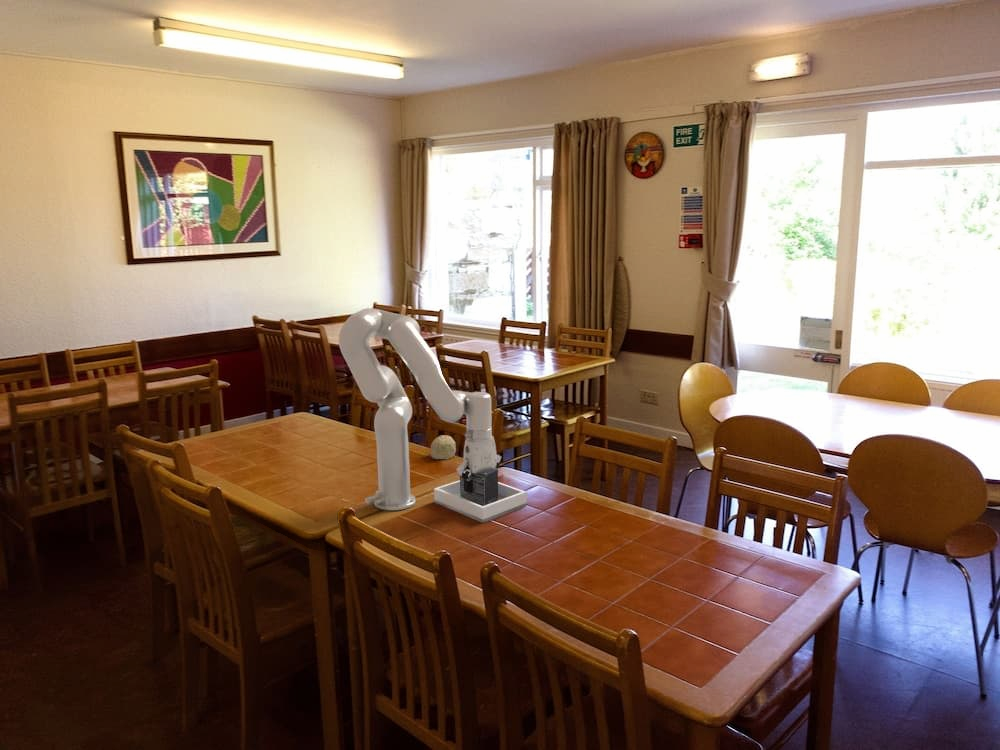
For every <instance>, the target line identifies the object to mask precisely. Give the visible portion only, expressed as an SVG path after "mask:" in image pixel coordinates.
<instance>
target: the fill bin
mask: <svg viewBox="0 0 1000 750" xmlns="http://www.w3.org/2000/svg"><path fill="white" fill-rule="evenodd" d="M433 500H434V503H435V504H437V505H439V506H442V507H444V508H447V509H449V510H451V511H454V512H456V513H458V514H462V515H463V516H465V517H467V518H470V519H472V520H475V521H477V522H480V523H481V524H483V523H487V522H489V521H492V520H494V519H497V518H499V517H502V516H505V515H506V514H510V513H512V512H515V511H518V510H520V509H522V508H524V507H527V491H525V490H522V489H520V488H517V487H514V486H511V485H507V484H505V483H502V482H499V481H498V501H496V502H493V503H490V504H488V505H485V506H481V505H479V504H476V503H474V502H471V501H469V500H466V499H464V498H461V497H460V479H459V480H455V481H453V482H450V483H447V484H444V485H443V484H442V485H440V486H438V487H435V488H433Z"/></svg>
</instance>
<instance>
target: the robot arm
mask: <svg viewBox="0 0 1000 750" xmlns="http://www.w3.org/2000/svg"><path fill="white" fill-rule="evenodd" d="M420 333H421V327H420V325H419V323H418V321H417V320H416V319H415V318H413V317H411V316H409V315H405V314H399V313H394V312H392V311H391V312H390V311H386V310H383V309H378V308H372V307H371V308H367V307H366V308H364V309H361V310H359V311H357V312H354V313H353V314H351V315H350V316H349V317H348V318H347V319H346V321H344V323H343V324H342V327H341V328H340V330H339V334H338V346H339V349H340V352H341V355H342V357H343V358H344V360H345V362H346V364H347V366H348V368H349V370H350V372H351V374H352V376H353V378H354V380H355V382H356V384H357V386H358V388H359V390H360V392H361V395H362V396H363V397H364V398H365V400H367V401H368V402H370V403H377V406H378V407H379V408H378V410H377V411H376V413H375V415H374V419H373V420H374V421H373V423H374V424H373V427H374V433H375V440H376V441H375V442H376V443H375V444H376V456H377V457H376V458H377V477H378V479H377V481H378V482H377V483H378V489H377V490H375V494H374V495H373V496H368V497H366V498H365V499H364V502H365V504H366V505H370V504H374V507H376V508H377V509H380V510H384V511H400V510H401V511H402V510H406V509H408V508H411V507H413V506H414V505H415V504H416V501H417V500H416V497H415V495H413V494H412V493H411V479H410V477H411V475H410V473H411V471H410V470H411V469H410V449H409V447H410V445H409V435H408V434H409V433H408V424H409V422H410V420H411V418H412V417H413V407H412V403H411V401H410V399H409V397H408V395H407V393H406V391H405V389H404V388H403V385H402V383H401V381H400V379H399V377H398V376H397V374H396V373H395V371H393V369H392V368H390V367H389V366H386V365H381V363H380V362H379V360H378V358H377V355H376V354H375V352H374V350H373V349H372V348H371V346H370V344H369V341H370V339H372V338H373V337H375V338H378V339H379V338H380V339H384V340H387V341H388V342H389V343H390V345H391V346H392V347H393V349H394V350H395V352H396V353H397V354H398V355H399V357H400V358H401V360H402V361H403V362H404V364H405V365H406V367H407V368H408V369H409V370H410V372H411V374H412V375H413V377H414V379H415V381H416V383H417V385H418V387H419V388H420V390H421V392H422V394H423V396H424V397H425V399H426V400H427V402H428V403H429V405H430V406H431V408H432V409H433V411H434V412H435V413H436V414H437V415H438V417H439V418H440V419H442V420H443V421H444V422H446V423H447V422H448V423H455V422H458V421H459V420H460V419H461V418H462V417H463V415H465V417H466V432H465V433H464V437H465V441H464V446H463V447H464V448H463V458H462V462H461V463H460V464H459V466H458V467H456V472H457V473H458V475H459V477H460V476H461V477H462V479H464V491H465V492H468V493H472V492H473V490H472V480H471V478H472V476H473V474H478V473H480V472H482V471H485V470H489V469H492V468H495V469H498V467H499V466H500V462H501V459H502V456H501V455H499V454H497V446H496V442H495V438H494V436H493V435H492V433H493V432H492V429H493V427H492V424H493V423H492V419H493V418H492V405H493V404H492V396H491V394H490V393H488V392H485V391H473V392H469V391H463V390H454V389H453V390H452V389H451V388H450V387H449V385H448V383H447V382H446V380H445V378H444V376H443V374H442V369H441V365H440V362H439V358H438V357H437V356H436V354H435V353H434V352H433V350H432V349H431V348H430V346H429V344H428V343H427V342H426V341H425V339H424V337H423V336H422V335H421V334H420ZM464 470H465V471H464ZM468 472H470V473H469V475H468V476H467V474H468Z"/></svg>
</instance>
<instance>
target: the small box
mask: <svg viewBox="0 0 1000 750" xmlns="http://www.w3.org/2000/svg"><path fill="white" fill-rule="evenodd" d="M464 471H465V470H464ZM469 473H470V472H468V474H467V476H468V475H469ZM459 480H460V497H461V498H464V499H466V500H469V501H471V502H474V503H476V504H479V505H481V506H485V505H488V504H490V503H493V502H496V501H498V482H499V469H498V468H497V469H495V468H492V469H489V470H485V471H482V472H480V473H478V474H473V476H472V478H471V480H472V490H473V492H472V493H468V492H465V491H464V479H462V477H461V476H459Z"/></svg>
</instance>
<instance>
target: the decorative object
mask: <svg viewBox="0 0 1000 750" xmlns="http://www.w3.org/2000/svg"><path fill="white" fill-rule="evenodd" d="M456 452H457V446H456V442H455V440H454V438H452V436H450V435H447V434H446V435H442V434H441V435H439V436H437V437H436V438H435V439H434V440H432V442H431V443H430V457H431V458H432V459H434V460H438V459H447V458H450V457H453V456H454V457H455V455H456ZM447 460H448V459H447Z"/></svg>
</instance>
